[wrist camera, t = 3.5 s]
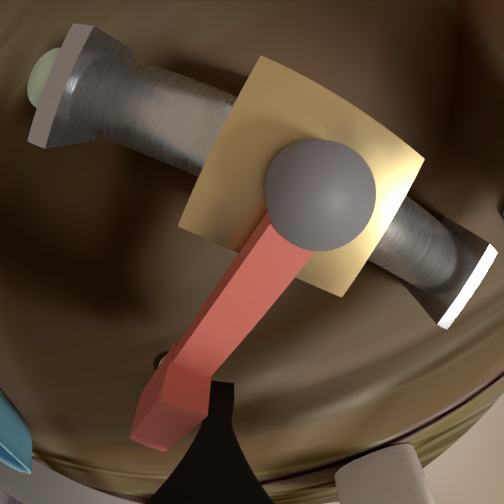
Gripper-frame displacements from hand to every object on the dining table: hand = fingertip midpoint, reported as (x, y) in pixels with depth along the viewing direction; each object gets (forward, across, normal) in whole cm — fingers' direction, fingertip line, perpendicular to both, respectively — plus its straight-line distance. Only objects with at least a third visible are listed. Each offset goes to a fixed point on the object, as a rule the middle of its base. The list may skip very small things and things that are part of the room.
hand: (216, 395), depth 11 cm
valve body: (+4, -2, -9) cm, 10 cm away
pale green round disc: (+4, +10, -12) cm, 17 cm away
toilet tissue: (+5, -21, +22) cm, 31 cm away
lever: (0, 0, -4) cm, 4 cm away
